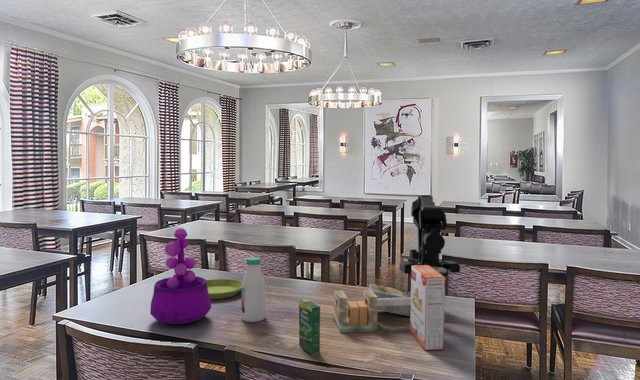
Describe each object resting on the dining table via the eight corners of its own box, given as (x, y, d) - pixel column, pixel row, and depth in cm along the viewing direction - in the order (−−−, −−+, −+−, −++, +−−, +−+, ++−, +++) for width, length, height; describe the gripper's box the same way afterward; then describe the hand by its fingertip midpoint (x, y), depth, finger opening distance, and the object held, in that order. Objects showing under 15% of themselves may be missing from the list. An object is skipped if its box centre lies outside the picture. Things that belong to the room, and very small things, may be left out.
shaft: (430, 310, 149) (431, 279, 148) (434, 313, 146) (435, 281, 145) (370, 313, 146) (371, 281, 145) (373, 316, 143) (373, 283, 142)
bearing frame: (368, 317, 150) (369, 287, 150) (378, 330, 139) (379, 298, 138) (333, 318, 149) (333, 288, 148) (340, 332, 137) (340, 300, 136)
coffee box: (369, 282, 158) (413, 291, 159) (365, 299, 159) (409, 308, 160) (373, 291, 149) (420, 300, 150) (369, 309, 150) (416, 318, 151)
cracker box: (408, 331, 138) (410, 264, 137) (427, 331, 139) (429, 264, 137) (422, 351, 124) (425, 276, 123) (444, 350, 125) (446, 276, 123)
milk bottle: (269, 316, 150) (269, 257, 149) (258, 324, 143) (259, 261, 141) (248, 313, 153) (248, 255, 151) (237, 321, 145) (237, 259, 144)
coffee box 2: (297, 345, 127) (298, 299, 126) (306, 343, 129) (307, 298, 128) (310, 356, 120) (311, 308, 119) (320, 354, 121) (321, 306, 121)
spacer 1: (354, 318, 146) (354, 301, 146) (358, 325, 141) (358, 307, 140) (347, 319, 146) (347, 301, 146) (350, 325, 140) (350, 307, 140)
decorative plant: (187, 335, 133) (186, 234, 131) (137, 326, 140) (135, 230, 138) (222, 314, 151) (222, 225, 149) (176, 307, 157) (175, 222, 155)
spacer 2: (363, 318, 147) (363, 300, 147) (367, 324, 141) (367, 306, 141) (355, 318, 147) (356, 301, 146) (359, 325, 141) (359, 306, 141)
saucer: (254, 291, 178) (254, 283, 178) (216, 305, 161) (216, 296, 161) (216, 283, 189) (216, 275, 189) (177, 295, 172) (177, 287, 172)
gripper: (447, 240, 155) (445, 285, 156) (394, 241, 152) (393, 286, 153) (462, 247, 144) (460, 295, 145) (406, 247, 141) (404, 296, 142)
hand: (428, 292), depth 147 cm, fingers closed on shaft, 3 cm apart
